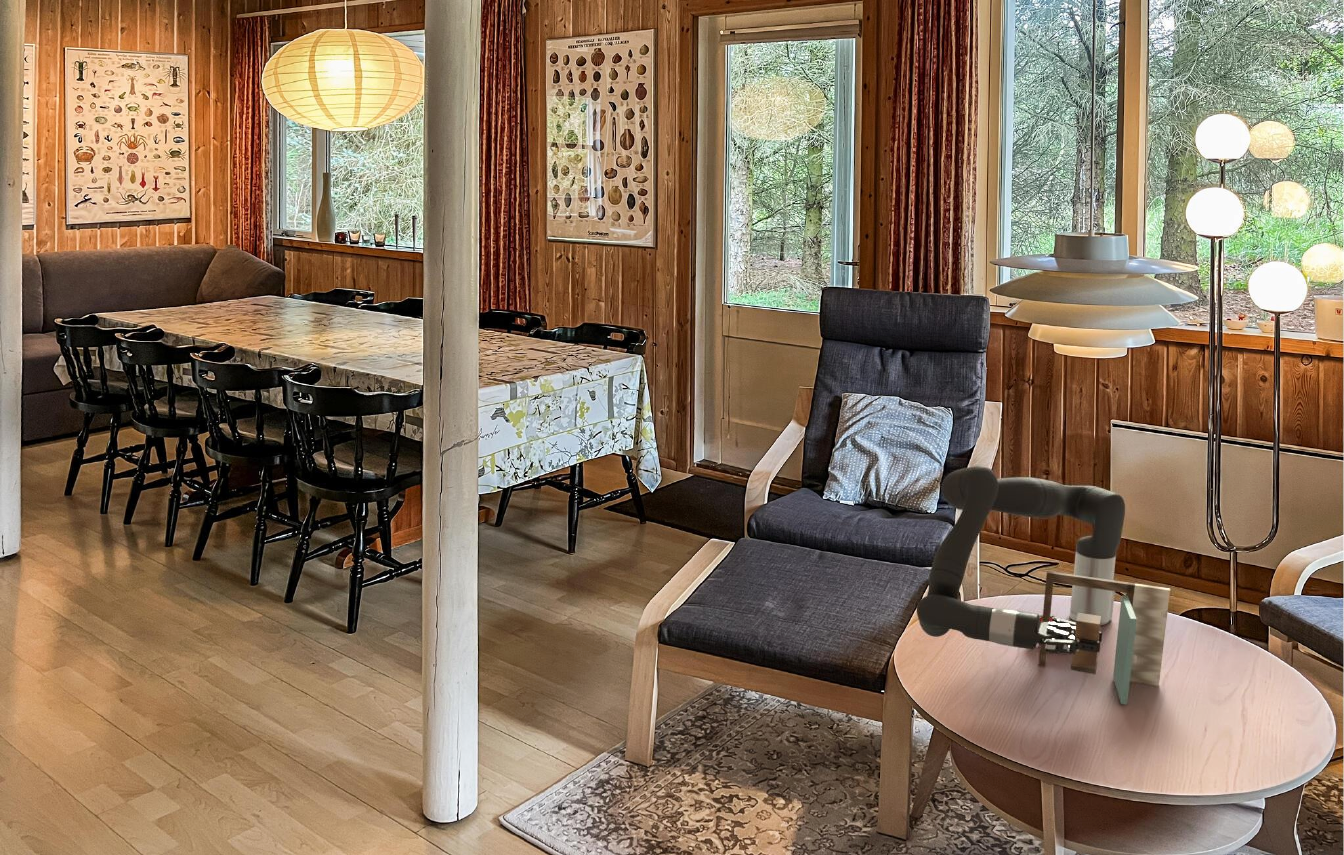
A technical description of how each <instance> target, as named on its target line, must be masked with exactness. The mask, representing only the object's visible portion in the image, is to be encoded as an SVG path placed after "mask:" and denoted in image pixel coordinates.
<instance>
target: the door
mask: <svg viewBox="0 0 1344 855" xmlns="http://www.w3.org/2000/svg"><path fill="white" fill-rule="evenodd" d="M1119 607H1120V610H1119V618H1118V628H1117V636H1116V637H1117V638H1116V646H1115V652H1114V653H1115V656H1114V665H1113V671H1112V672H1113V673H1112V674H1113V675H1112V678H1113V681H1114V682H1113V683H1114V684H1115V687H1116V688H1115V689H1116V692H1117V695H1118V698H1119V701H1120V704H1121V705H1128V701H1129V691H1130V690H1129V689H1130V684H1131V681H1130V674H1131V665H1132V663H1136V662H1137V655H1133V647H1134V638H1135V629H1136V620H1137V619H1136V616H1135V614H1134V611H1133V608H1132V606H1131V603H1130V601H1129V598H1128V596H1126V595H1122V594H1121V600H1120V606H1119Z"/></svg>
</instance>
